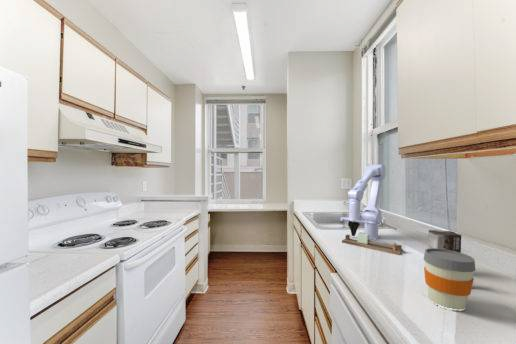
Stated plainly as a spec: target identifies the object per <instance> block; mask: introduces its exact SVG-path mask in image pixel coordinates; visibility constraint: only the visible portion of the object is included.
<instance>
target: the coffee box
mask: <svg viewBox="0 0 516 344" xmlns="http://www.w3.org/2000/svg"><path fill="white" fill-rule="evenodd" d="M427 239H428V241H427V242H428V243H427V244H428V246H427V249H429V248H438V249H446V250H451V251H456V252H460V253H462V234H458V233H457V232H454V231H452V230H451V231H450V230H438V229H437V230H434V229H433V230H432V229H430V230H428V238H427Z"/></svg>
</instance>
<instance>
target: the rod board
mask: <svg viewBox="0 0 516 344" xmlns="http://www.w3.org/2000/svg"><path fill="white" fill-rule="evenodd" d="M357 239H358V236H352V235H350V234H345V237H344V239H342V240H341V243H342V244H343V243H345V244H348V245H352V246H355V247H357V246H358V247H362V248H367V249H371V250H375V251H379V252H383V253H389V254H392V255H393V254H394V255H398V256H401V254H402V252H403V251H404V248H402V246H403V245H401V244H397V243H396V242H394V243H393V244H391V243H386V242H382V241H377V240H373V239H370V240H368V244H364V243H359V242H357Z"/></svg>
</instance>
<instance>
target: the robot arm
mask: <svg viewBox="0 0 516 344" xmlns="http://www.w3.org/2000/svg"><path fill="white" fill-rule="evenodd" d="M364 171H365V172H364V174H363V176H362V178H361V179H359V180H358V181H357V182H356V183H355V185H354V186H353V188H351V189H349V190H348V192H347V198H348V206H349V207H348V217H345V216H340V221H341V222H348V223H347V226H348V227H349V230H350V234H351V236H352V237H356V234H357V230H358V229H359V226H360V225H364V230H363V231H364V232H363V233H366V234H370V240H372V241H377V240H378V239H379V238H381V236H380V235H379V229H380V228H379V224H380V223H381V221H382V210H381V209H379V206H378V205H379V201H380V195H381V190H382V189H381V188H382V184H383V180H385V177H386V172H387V168H386V165H385V164H381V163H380V164H373V163H372V164H370V163H369V164H367V165H366V166H365V169H364ZM370 180H372V184H371V190H370V195H369V198H368V199H369V200H368V205H367V206H365V207H363V210H362V213H361V203H362V202H361V201H362V200H363V199H364V194H365V191H366V189H367V188H368V186H369V185H368V183H369V181H370Z"/></svg>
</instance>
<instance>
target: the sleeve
mask: <svg viewBox="0 0 516 344" xmlns="http://www.w3.org/2000/svg"><path fill="white" fill-rule="evenodd" d="M357 238H358V239H357V242H359V243H364V244H368V240H371V239H370V234H366V233H364V232H358V233H357Z"/></svg>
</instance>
